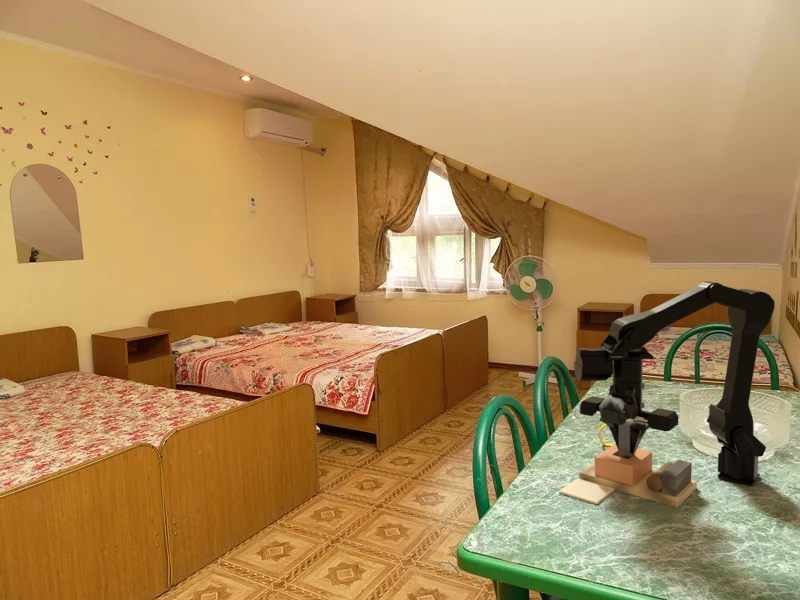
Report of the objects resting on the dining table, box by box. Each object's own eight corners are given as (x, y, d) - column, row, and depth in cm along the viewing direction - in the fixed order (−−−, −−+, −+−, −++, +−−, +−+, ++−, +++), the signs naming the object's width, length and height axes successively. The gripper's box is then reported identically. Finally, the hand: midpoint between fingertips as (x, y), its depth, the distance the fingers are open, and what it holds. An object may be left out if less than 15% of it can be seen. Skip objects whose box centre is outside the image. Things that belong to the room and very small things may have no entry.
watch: (623, 446, 143) (626, 422, 142) (624, 450, 140) (626, 426, 140) (598, 442, 145) (600, 419, 144) (597, 446, 142) (599, 422, 142)
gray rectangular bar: (634, 468, 123) (634, 422, 122) (629, 471, 121) (630, 425, 120) (623, 465, 124) (623, 419, 123) (618, 468, 123) (618, 422, 122)
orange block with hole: (651, 469, 124) (652, 451, 124) (632, 485, 117) (632, 466, 116) (615, 460, 130) (615, 443, 129) (594, 475, 123) (594, 456, 122)
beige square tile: (614, 490, 119) (614, 488, 119) (596, 504, 113) (596, 502, 113) (578, 479, 124) (578, 478, 124) (559, 492, 119) (559, 490, 118)
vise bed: (696, 487, 119) (697, 461, 118) (677, 507, 111) (677, 479, 110) (602, 463, 132) (602, 439, 132) (579, 479, 125) (579, 454, 124)
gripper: (566, 381, 121) (567, 453, 123) (658, 396, 108) (657, 476, 110) (591, 370, 129) (591, 438, 131) (680, 383, 116) (678, 458, 118)
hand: (626, 452), depth 122 cm, fingers closed on gray rectangular bar, 2 cm apart
